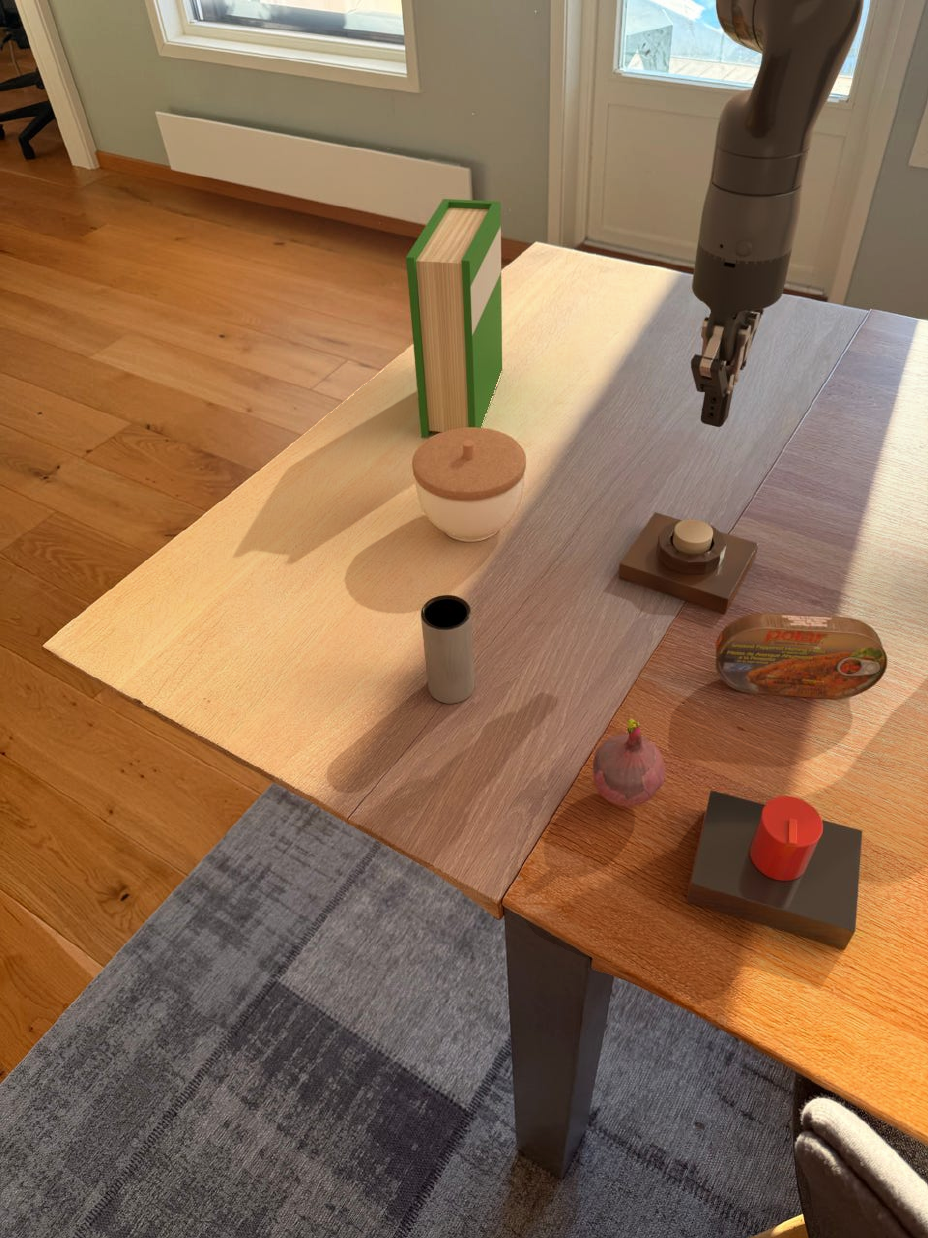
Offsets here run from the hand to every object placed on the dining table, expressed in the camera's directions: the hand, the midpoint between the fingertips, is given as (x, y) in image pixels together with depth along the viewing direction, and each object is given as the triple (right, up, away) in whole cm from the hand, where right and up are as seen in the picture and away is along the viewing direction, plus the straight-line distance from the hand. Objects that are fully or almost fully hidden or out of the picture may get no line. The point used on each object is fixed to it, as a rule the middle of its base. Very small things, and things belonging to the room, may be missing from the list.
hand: (713, 421), depth 86 cm
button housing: (+1, -13, +13) cm, 19 cm away
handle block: (+1, -39, -13) cm, 42 cm away
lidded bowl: (-23, -8, +21) cm, 32 cm away
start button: (+1, -11, +11) cm, 15 cm away
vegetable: (-10, -34, -7) cm, 36 cm away
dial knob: (+1, -37, -15) cm, 40 cm away
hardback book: (-24, +11, +39) cm, 47 cm away
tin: (+8, -25, +1) cm, 26 cm away
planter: (-25, -25, +3) cm, 36 cm away
